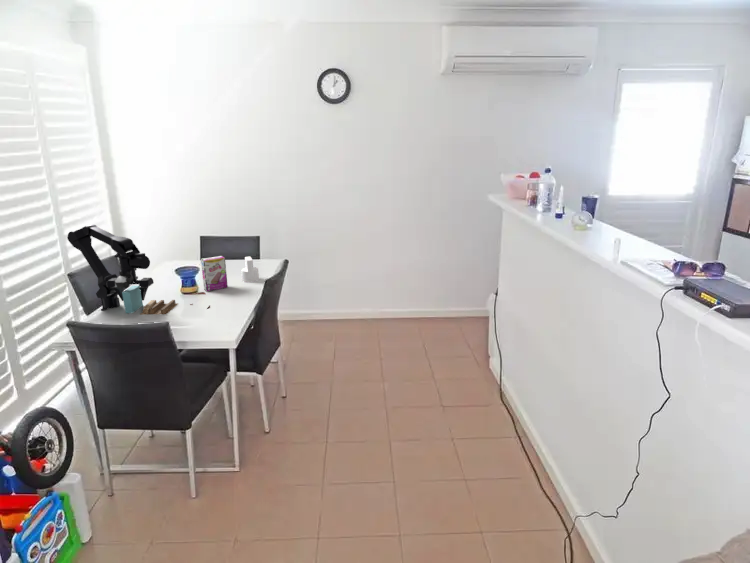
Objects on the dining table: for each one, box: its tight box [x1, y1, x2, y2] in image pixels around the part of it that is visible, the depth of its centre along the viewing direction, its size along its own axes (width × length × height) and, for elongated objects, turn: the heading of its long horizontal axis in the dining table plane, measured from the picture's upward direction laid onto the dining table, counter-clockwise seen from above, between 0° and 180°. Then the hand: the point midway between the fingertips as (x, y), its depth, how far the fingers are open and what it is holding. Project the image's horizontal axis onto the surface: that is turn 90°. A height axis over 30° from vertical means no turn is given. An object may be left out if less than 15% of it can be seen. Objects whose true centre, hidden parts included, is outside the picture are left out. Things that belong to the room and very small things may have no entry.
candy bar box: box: [200, 255, 228, 292], centre depth 256 cm, size 11×5×16 cm, turn 126°
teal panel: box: [122, 285, 144, 314], centre depth 226 cm, size 3×10×10 cm, turn 179°
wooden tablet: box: [188, 291, 211, 310], centre depth 240 cm, size 27×10×2 cm, turn 22°
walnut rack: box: [139, 299, 180, 316], centre depth 227 cm, size 12×14×3 cm
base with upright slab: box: [240, 256, 260, 283], centre depth 270 cm, size 9×9×12 cm
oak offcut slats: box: [141, 299, 158, 313], centre depth 227 cm, size 3×10×2 cm, turn 179°
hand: (133, 300), depth 226 cm, fingers open, 9 cm apart
